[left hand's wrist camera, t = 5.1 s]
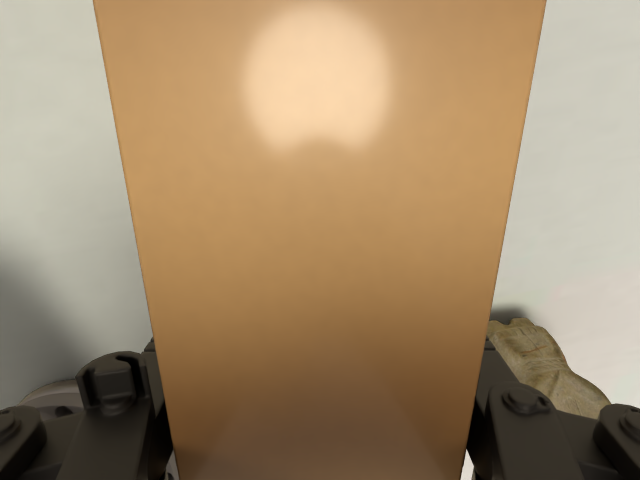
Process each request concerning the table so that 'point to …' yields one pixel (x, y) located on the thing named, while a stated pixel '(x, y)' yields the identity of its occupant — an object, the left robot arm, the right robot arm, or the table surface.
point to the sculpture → (545, 367)
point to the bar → (319, 221)
